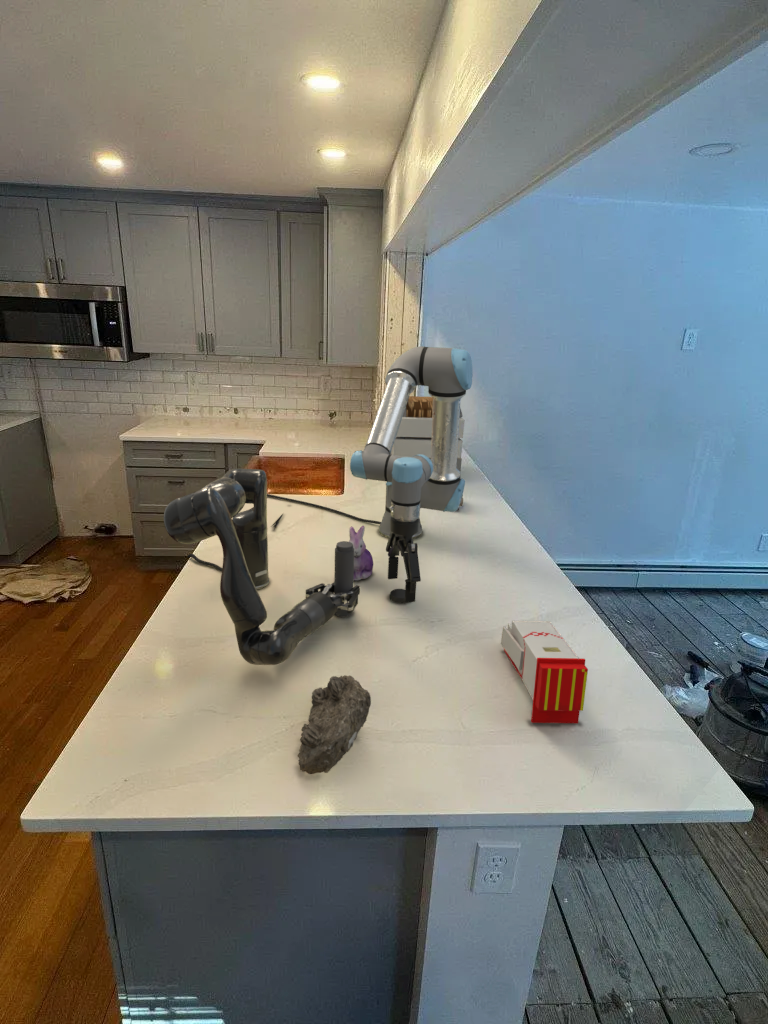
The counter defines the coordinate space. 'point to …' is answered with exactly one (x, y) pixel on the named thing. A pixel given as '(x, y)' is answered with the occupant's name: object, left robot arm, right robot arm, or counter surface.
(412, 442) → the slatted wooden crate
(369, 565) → the figurine
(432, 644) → the counter surface
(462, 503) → the figurine character
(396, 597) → the lid
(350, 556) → the dark grey cylinder
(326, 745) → the fossil
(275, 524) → the dark tapered rod
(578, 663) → the toy
